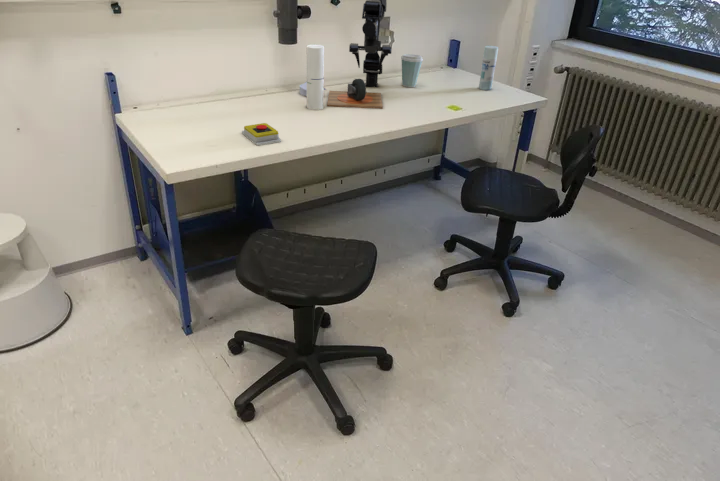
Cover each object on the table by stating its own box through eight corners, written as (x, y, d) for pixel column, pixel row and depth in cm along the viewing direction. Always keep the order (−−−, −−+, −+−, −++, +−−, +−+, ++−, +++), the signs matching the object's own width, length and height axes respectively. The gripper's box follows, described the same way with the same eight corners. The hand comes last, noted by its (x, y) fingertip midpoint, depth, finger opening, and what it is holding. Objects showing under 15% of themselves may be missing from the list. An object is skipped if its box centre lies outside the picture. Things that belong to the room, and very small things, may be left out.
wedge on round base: (326, 97, 243) (313, 89, 252) (327, 82, 239) (313, 75, 249) (309, 99, 239) (296, 91, 248) (308, 84, 235) (296, 77, 244)
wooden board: (329, 92, 250) (329, 90, 249) (380, 94, 250) (380, 92, 250) (327, 106, 231) (327, 104, 230) (382, 108, 232) (382, 106, 231)
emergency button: (257, 133, 185) (240, 121, 196) (257, 145, 188) (241, 132, 198) (281, 129, 190) (263, 117, 201) (281, 141, 192) (264, 129, 203)
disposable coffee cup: (395, 83, 269) (398, 52, 261) (415, 82, 272) (418, 52, 264) (403, 89, 260) (406, 57, 253) (423, 88, 263) (427, 56, 256)
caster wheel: (367, 104, 236) (353, 91, 247) (369, 82, 231) (355, 70, 241) (356, 105, 234) (342, 92, 245) (357, 83, 228) (343, 71, 239)
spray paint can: (475, 87, 269) (482, 45, 259) (486, 86, 272) (493, 45, 262) (483, 90, 264) (490, 48, 254) (494, 89, 267) (501, 48, 257)
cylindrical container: (320, 110, 226) (321, 48, 213) (304, 108, 227) (304, 47, 214) (325, 105, 232) (326, 45, 219) (309, 104, 233) (309, 43, 220)
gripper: (349, 34, 228) (348, 71, 236) (393, 36, 229) (390, 73, 237) (350, 29, 238) (348, 65, 246) (391, 31, 238) (389, 67, 246)
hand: (369, 68), depth 243 cm, fingers open, 9 cm apart
